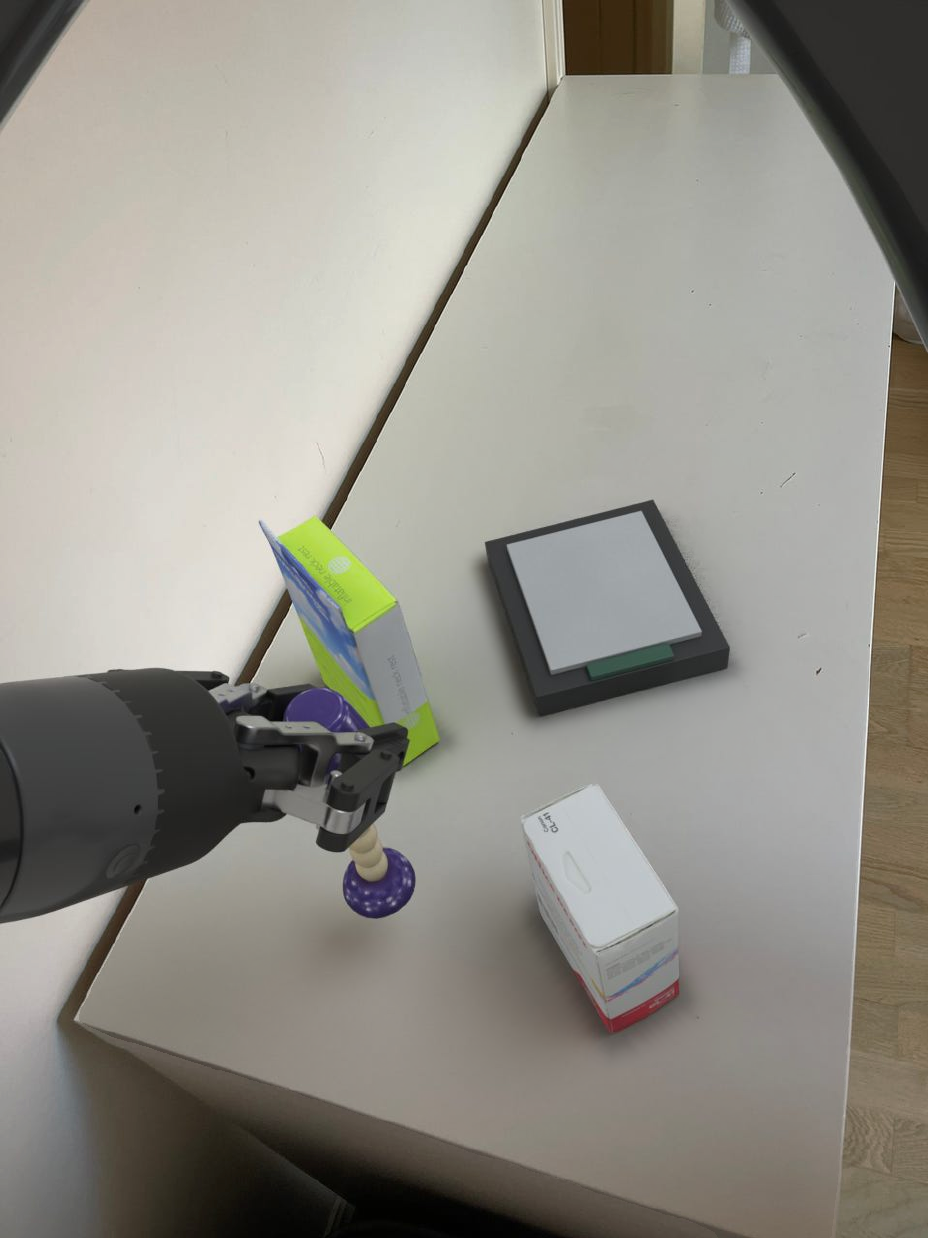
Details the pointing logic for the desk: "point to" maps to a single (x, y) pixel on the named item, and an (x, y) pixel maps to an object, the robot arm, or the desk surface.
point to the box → (354, 631)
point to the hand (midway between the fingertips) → (353, 725)
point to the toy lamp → (375, 872)
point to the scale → (603, 608)
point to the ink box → (604, 905)
